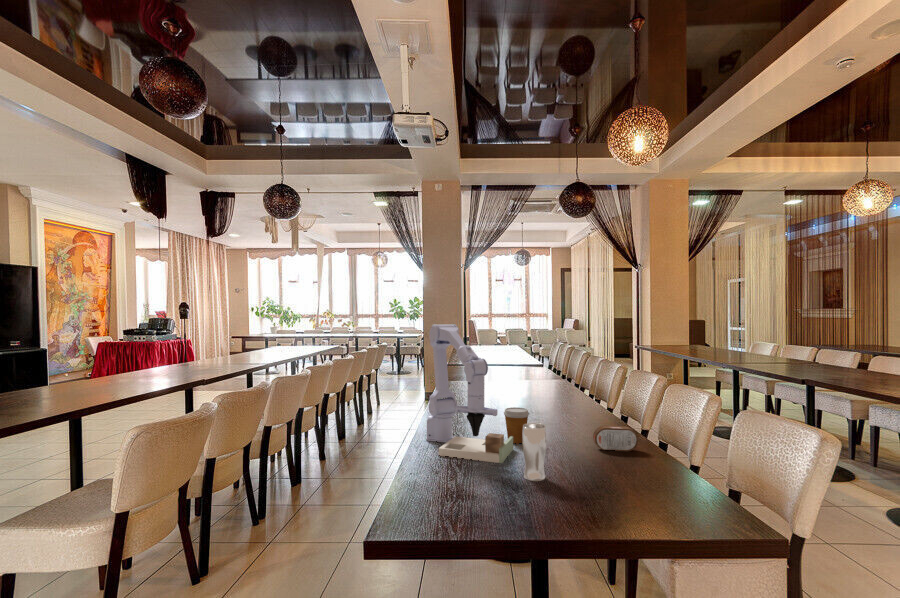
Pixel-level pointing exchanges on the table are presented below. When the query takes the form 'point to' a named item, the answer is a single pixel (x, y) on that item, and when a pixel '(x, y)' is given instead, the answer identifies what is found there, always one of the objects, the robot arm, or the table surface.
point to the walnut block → (493, 442)
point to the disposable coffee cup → (515, 422)
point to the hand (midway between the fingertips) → (475, 435)
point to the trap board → (475, 449)
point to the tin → (615, 438)
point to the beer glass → (534, 451)
